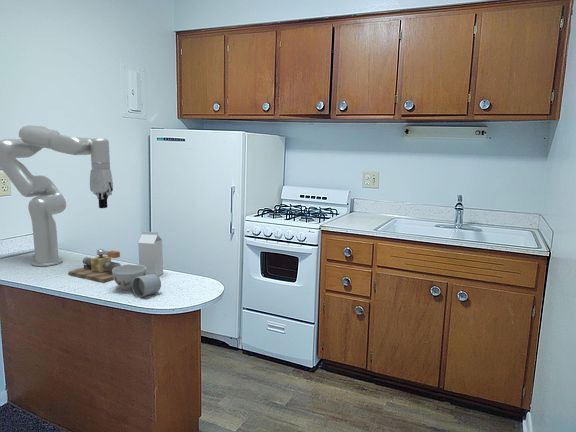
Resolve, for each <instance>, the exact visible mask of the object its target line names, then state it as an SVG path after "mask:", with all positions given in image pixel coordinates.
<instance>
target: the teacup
mask: <svg viewBox="0 0 576 432" xmlns="http://www.w3.org/2000/svg"><path fill="white" fill-rule="evenodd" d="M120 265H121V264H120ZM112 274H113V278H114V280H113V281H114V282H115V284H116V285H117V286H118V287H119V288H121V289H122V291H133V289H132V282H133V280H134V278H136V277H139V276H145V275H146V267H145V266H143V265H139V264H122V265H121V266H117V267H115V268H113V270H112Z"/></svg>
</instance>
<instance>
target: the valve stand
mask: <svg viewBox="0 0 576 432" xmlns="http://www.w3.org/2000/svg"><path fill="white" fill-rule="evenodd" d="M82 264H83V267H80V268H75V269H72V270H68V272H67V275H68V276H70V277H76V278H81V279H84V280H89V281H94V282H98V283H102V284H105V283H107V282H108V283H109V282H111V281H115V280H114V278H113V274H112V270H113V268H115V267H117V266H121V264H120V263H118V262H113V261H112V258H110V257H108V256H107V255H97V256H94V257H88V256H85V257H83V258H82Z"/></svg>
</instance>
